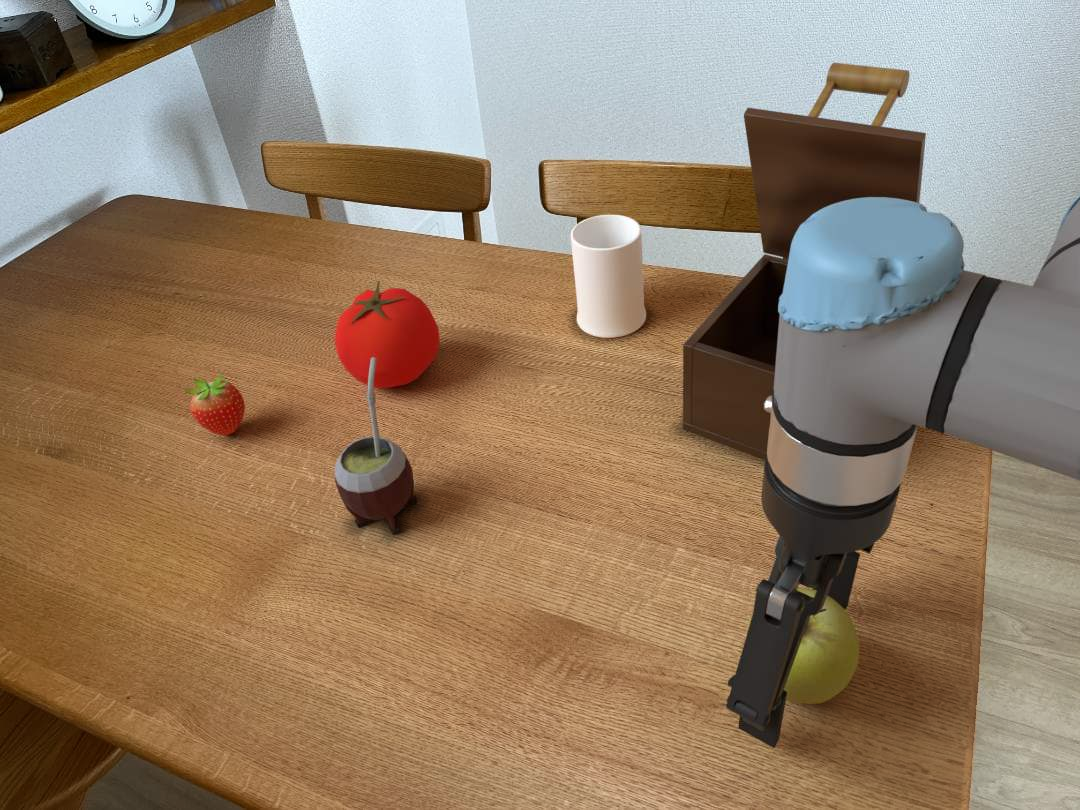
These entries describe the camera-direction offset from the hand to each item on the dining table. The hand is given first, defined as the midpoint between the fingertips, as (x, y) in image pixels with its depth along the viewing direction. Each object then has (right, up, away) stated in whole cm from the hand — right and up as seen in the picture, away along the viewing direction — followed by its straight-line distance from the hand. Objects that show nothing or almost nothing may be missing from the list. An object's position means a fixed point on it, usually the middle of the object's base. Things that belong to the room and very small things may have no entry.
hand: (795, 663), depth 61 cm
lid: (+8, +38, +14) cm, 41 cm away
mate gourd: (-34, +9, +19) cm, 40 cm away
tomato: (-36, +23, +35) cm, 55 cm away
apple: (0, -1, +1) cm, 2 cm away
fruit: (-54, +16, +31) cm, 64 cm away
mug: (-10, +31, +40) cm, 52 cm away
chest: (+7, +20, +24) cm, 32 cm away
